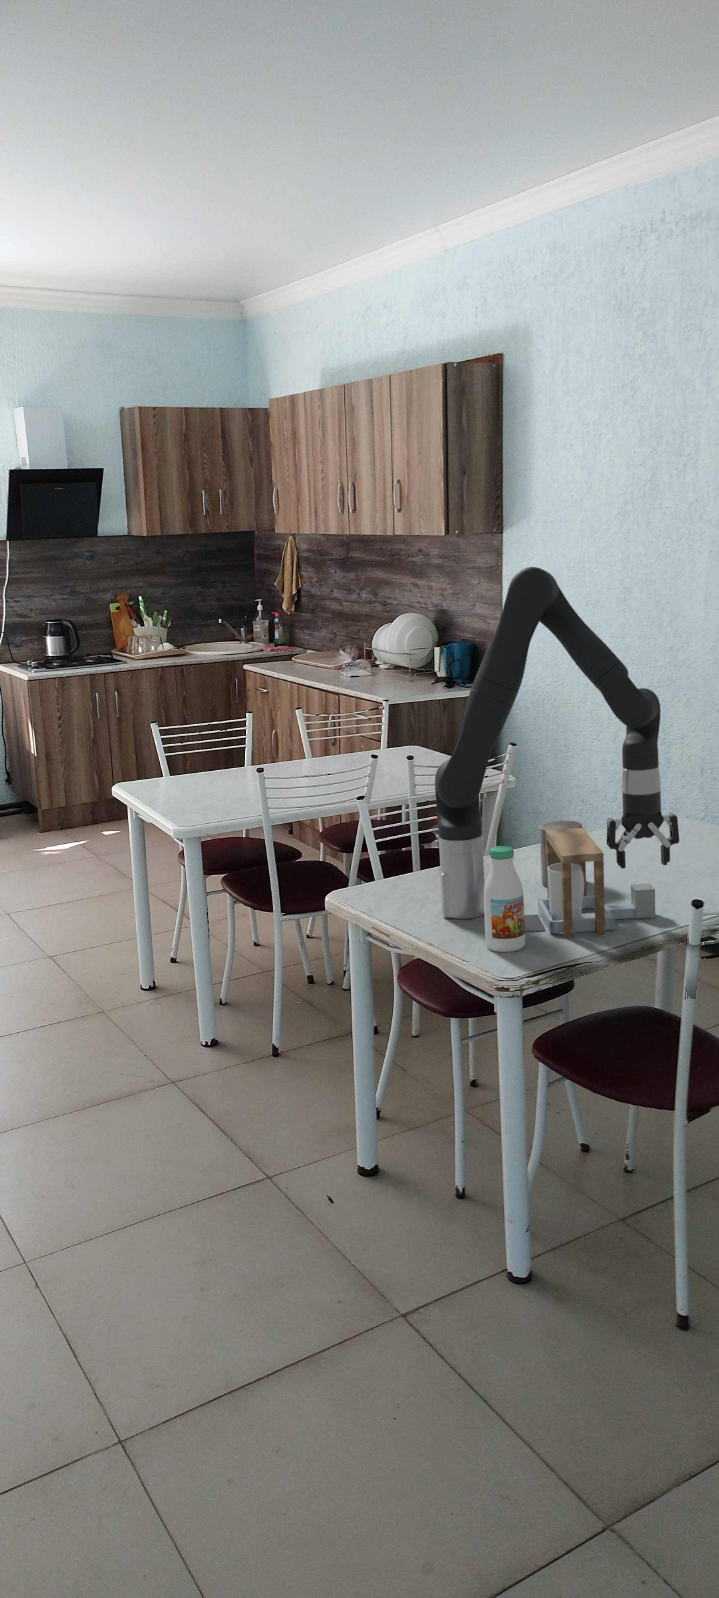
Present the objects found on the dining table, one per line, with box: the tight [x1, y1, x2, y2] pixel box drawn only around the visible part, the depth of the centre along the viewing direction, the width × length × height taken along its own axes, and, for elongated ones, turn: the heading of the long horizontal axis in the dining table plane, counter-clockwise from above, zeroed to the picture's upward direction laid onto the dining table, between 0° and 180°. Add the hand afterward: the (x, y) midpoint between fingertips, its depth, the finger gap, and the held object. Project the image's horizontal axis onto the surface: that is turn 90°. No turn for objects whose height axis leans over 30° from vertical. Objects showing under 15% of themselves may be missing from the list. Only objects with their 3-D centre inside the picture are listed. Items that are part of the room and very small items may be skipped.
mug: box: [548, 863, 584, 921], centre depth 240 cm, size 10×7×12 cm, turn 136°
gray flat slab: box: [524, 914, 546, 934], centre depth 241 cm, size 6×10×1 cm, turn 1°
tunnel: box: [545, 827, 606, 939], centre depth 239 cm, size 8×20×17 cm, turn 1°
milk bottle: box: [484, 845, 526, 953], centre depth 227 cm, size 8×8×20 cm
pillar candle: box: [538, 819, 583, 888], centre depth 265 cm, size 10×10×15 cm
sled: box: [537, 882, 656, 935], centre depth 240 cm, size 22×15×6 cm, turn 91°
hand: (643, 865), depth 239 cm, fingers open, 8 cm apart
